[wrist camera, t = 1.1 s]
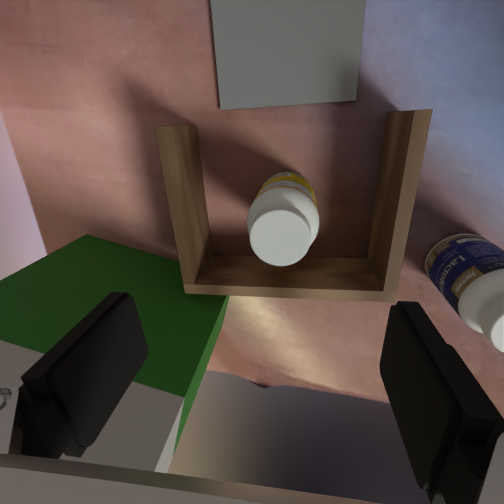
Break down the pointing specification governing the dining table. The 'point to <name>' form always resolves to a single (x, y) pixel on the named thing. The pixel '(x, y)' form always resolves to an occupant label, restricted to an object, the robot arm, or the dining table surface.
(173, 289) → the hardback book
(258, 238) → the supplement bottle
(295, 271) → the wooden u-shaped frame
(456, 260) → the pill bottle
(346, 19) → the grey mat
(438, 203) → the dining table surface
